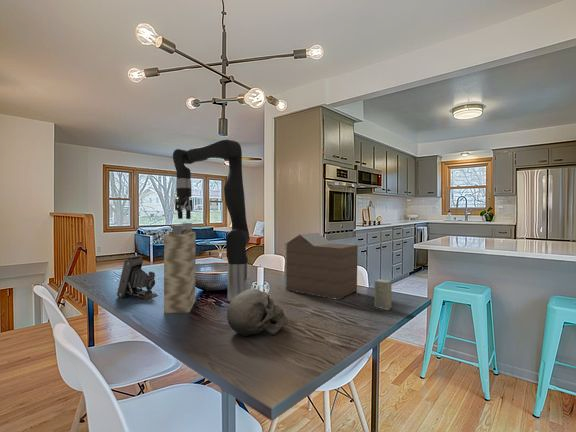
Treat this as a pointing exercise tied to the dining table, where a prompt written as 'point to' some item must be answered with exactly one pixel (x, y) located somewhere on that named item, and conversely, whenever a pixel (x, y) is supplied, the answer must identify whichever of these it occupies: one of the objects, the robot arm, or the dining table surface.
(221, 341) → the dining table surface
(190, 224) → the bar
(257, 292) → the skull
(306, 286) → the building model
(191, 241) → the post
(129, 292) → the camera
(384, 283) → the skincare box
